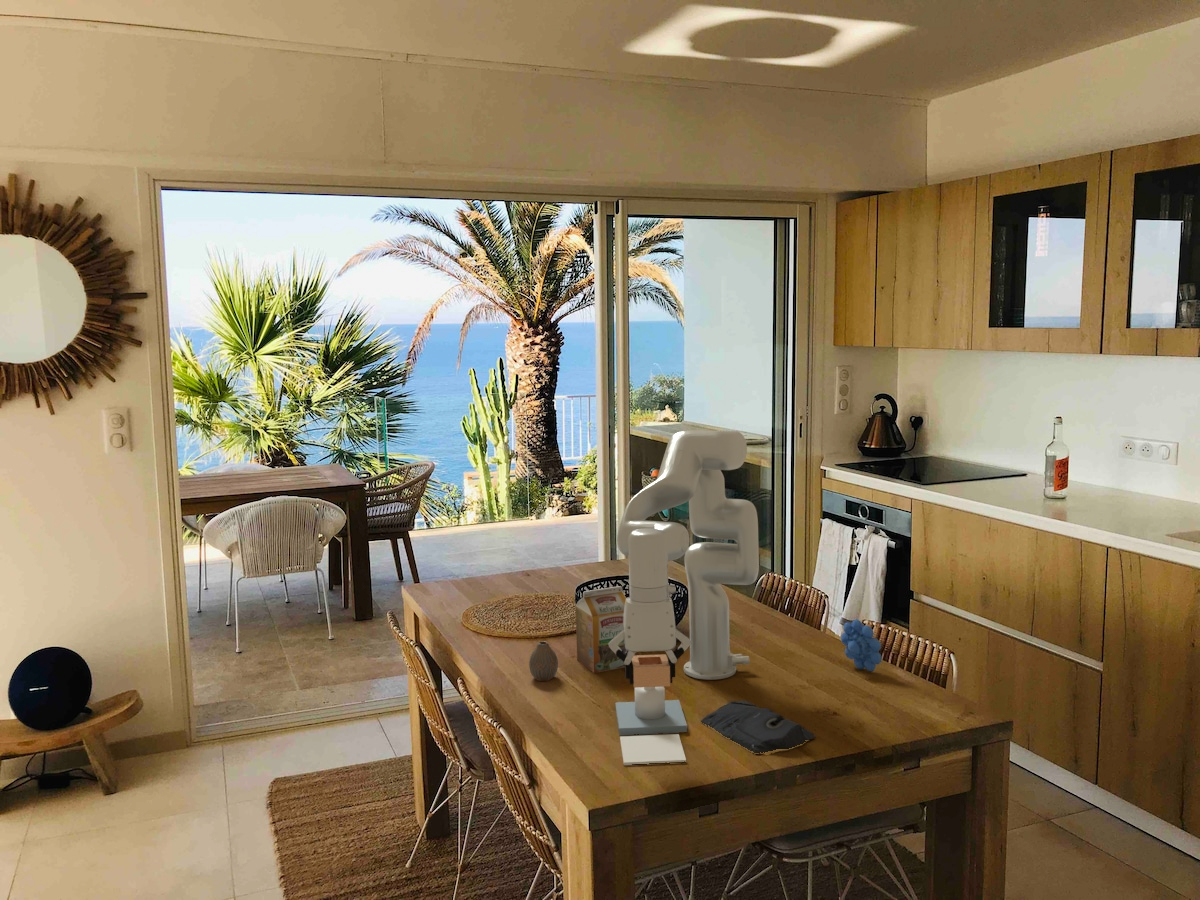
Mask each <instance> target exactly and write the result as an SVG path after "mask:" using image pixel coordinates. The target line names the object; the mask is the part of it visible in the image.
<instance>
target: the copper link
mask: <svg viewBox="0 0 1200 900" xmlns="http://www.w3.org/2000/svg"><path fill="white" fill-rule="evenodd" d="M632 664H633V684H632V685H633V688H634V689H635V688H638V687H664V688H665V687H671V683H670V665H669V662H668V655H667V653H666V654H643V655H642V654H639V655H636V654H635V655H634V656H633V658H632Z"/></svg>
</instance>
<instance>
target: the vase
mask: <svg viewBox="0 0 1200 900" xmlns="http://www.w3.org/2000/svg"><path fill="white" fill-rule="evenodd" d="M528 666H529V672H530V673H531V675H532V677H533V678H534V679H536V680H537V681H541V682H547V681H551V680H552V679H554V677H555V676H556V675H557V672H558V670H559V669H558V668H559V661H558V655H557V653H556V652H555V651H554V650H553V648H552V647H551V646H550V645H549V642H548V641H543V640H542V641H538V642H537V645H536V646H535V648H534V650H532V652H531V654H530V657H529V661H528Z"/></svg>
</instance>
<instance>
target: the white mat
mask: <svg viewBox="0 0 1200 900" xmlns="http://www.w3.org/2000/svg"><path fill="white" fill-rule="evenodd" d="M619 740H620V741H619V743H620V748H621V755H622V761H623V766H633V765H632V764H647V765H650V764H649V763H665V762H667V763H669V762H684V761H685V762H686V763H687V757H686V755H685V751H684V747H683V744H682V741H681V738H680V733H668V734H645V735H621V736H619Z"/></svg>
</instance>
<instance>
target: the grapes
mask: <svg viewBox="0 0 1200 900" xmlns="http://www.w3.org/2000/svg"><path fill="white" fill-rule="evenodd" d="M842 630H843V632H842V634H841V635H840V641H841V643H842V645H844V646H846V647H845V648H844V654H845V656H846V657H847V658H848V659H849V660H853V664H854V666H855V667H856V668H857V669H859V670H864V669H865V670H867V671H869V672H873V671H874V670H875V669H876V667H877V666H876V665H880V664H881V663H882V660H883V659H882V654H881V653H880V652H879V651H880V650H881V648H882V644H881V641H880V640H878V638H876V637H874V635H875V634H874V630H873V629H872V627H871V626H870V625H866V624H865V625H864V623H863V622H861V620H860V619H855V618H854V619H853V620H852V621H851V622H845V623H844V624H843V626H842Z"/></svg>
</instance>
